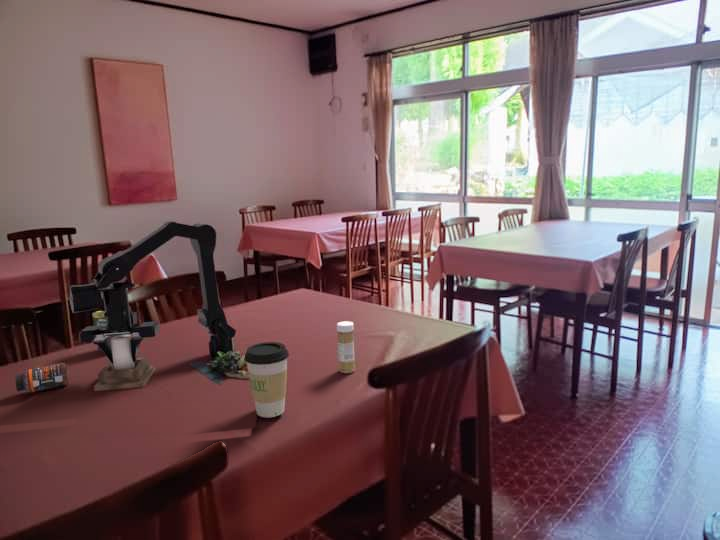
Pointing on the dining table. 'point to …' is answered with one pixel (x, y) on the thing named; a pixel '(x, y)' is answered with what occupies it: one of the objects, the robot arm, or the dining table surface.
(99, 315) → the coffee box
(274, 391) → the coffee cup
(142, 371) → the holder
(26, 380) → the supplement bottle
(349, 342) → the sprinkles bottle
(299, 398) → the dining table surface
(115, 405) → the dining table surface
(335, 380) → the dining table surface
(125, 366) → the white tapered cylinder
